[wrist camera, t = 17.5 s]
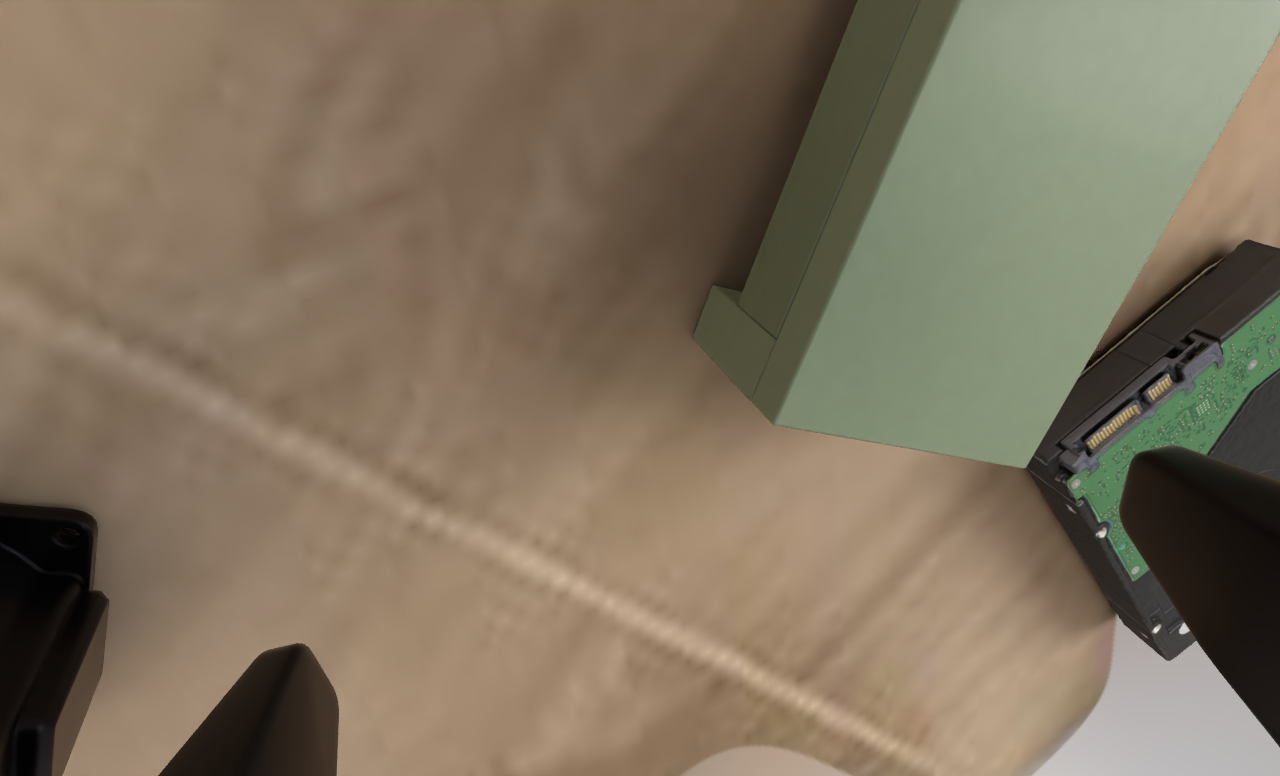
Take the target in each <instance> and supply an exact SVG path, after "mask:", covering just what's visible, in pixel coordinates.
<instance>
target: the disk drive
mask: <svg viewBox="0 0 1280 776" xmlns="http://www.w3.org/2000/svg"><path fill="white" fill-rule="evenodd" d="M1168 445H1176V446H1181V447H1185V448H1187V449H1190V450H1193V451H1196V452H1199V453H1202V454H1204V455H1207V456H1210V457H1213V458H1216V459H1218V460H1221V461H1224V462H1227V463H1230V464H1233V465H1235V466H1238V467H1241V468H1244V469H1247V470H1250V471H1252V472H1255V473H1258V474H1261V475H1264V476H1266V477H1269V478H1272V479H1275V480H1278V481H1280V248H1276V247H1272V246H1269V245H1264V244H1261V243H1258V242H1254V241H1252V240H1245V241H1243V242H1242V243H1241V244H1239V245H1238V246H1237V248H1236V249H1235V250H1234V251H1233V252H1232V253H1230V254H1228V255H1226V256H1225V257H1223V258H1222V259H1220V260H1219V261H1218V262H1217V263H1215V264H1213V265H1211V266H1210V267H1208V268H1207V269H1205V270H1204V271H1203V272H1202V273H1201V274H1199V275H1198V276H1197V277H1196V278H1195V279H1193V280H1192V281H1191V282H1190V283H1189V284H1187V285H1186V286H1184V288H1183V289H1182V290H1180V291H1179V292H1178V293H1177V294H1176V295H1175V296H1173V297H1172V298H1171V299H1170V300H1169V301H1167V302H1166V303H1165V304H1164V305H1162V306H1161V307H1160V308H1159V309H1158V310H1157V311H1156V312H1155V313H1153V314H1152V315H1151V316H1149V317H1148V318H1147V319H1146V320H1145V321H1144V322H1143V323H1142V324H1140V325H1139V326H1138V327H1137V328H1135V329H1134V330H1133V331H1131V332H1130V333H1129V334H1128V335H1127V336H1126V337H1125V338H1124V339H1123V340H1121V341H1119V342H1118V343H1117V344H1116V345H1115V346H1114V347H1112V348H1111V349H1110V350H1109V351H1108V352H1107V353H1106V354H1104V355H1103V356H1102V357H1101V358H1100V359H1098V360H1097V361H1096V362H1095V363H1093V364H1092V365H1091V366H1090V367H1089V368H1087V369H1086V370H1085V371H1083V372H1082V373H1081V374H1080V376H1079V378H1078V379H1077V381H1076V383H1075V384H1074V386H1073V388H1072V390H1071V391H1070V393H1069V395H1068V396H1067V398H1066V400H1065V402H1064V403H1063V405H1062V407H1061V408H1060V410H1059V412H1058V414H1057V415H1056V417H1055V419H1054V420H1053V422H1052V424H1051V425H1050V427H1049V429H1048V431H1047V432H1046V434H1045V436H1044V437H1043V439H1042V441H1041V443H1040V444H1039V446H1038V448H1037V449H1036V451H1035V453H1034V455H1033V456H1032V458H1031V460H1030V461H1029V463H1028V465H1027V468H1028V470H1029V472H1030V473H1031V475H1032V477H1033V478H1034V480H1035V482H1036V483H1037V485H1038V486H1039V488H1040V489H1041V491H1042V493H1043V494H1044V496H1045V498H1046V499H1047V501H1048V502H1049V504H1050V505H1051V507H1052V508H1053V511H1054V512H1055V514H1056V516H1057V517H1058V519H1059V520H1060V522H1061V523H1062V525H1063V527H1064V529H1065V530H1066V531H1067V533H1068V535H1069V536H1070V538H1071V540H1072V541H1073V543H1074V545H1075V546H1076V548H1077V549H1078V551H1079V553H1080V554H1081V556H1082V558H1083V559H1084V560H1085V562H1086V563H1087V565H1088V567H1089V569H1090V570H1091V572H1092V574H1093V575H1094V576H1095V578H1096V580H1097V581H1098V583H1099V585H1100V586H1101V588H1102V590H1103V591H1104V593H1105V595H1106V596H1107V598H1108V600H1109V602H1110V603H1111V606H1112V607H1113V608H1114V609H1115V611H1116V613H1117V614H1118V616H1119V618H1120V619H1121V620H1122V621H1123V623H1124V625H1126V626H1127V627H1128V628H1129V629H1130V630H1131V631H1133V632H1134V633H1135V634H1136V635H1137V636H1138V637H1139V638H1140V639H1142V640H1143V641H1144V642H1145V643H1146V644H1148V645H1149V646H1150V647H1151V648H1153V649H1154V650H1155V651H1156V652H1157V653H1158V654H1159V655H1161V656H1162V657H1164V659H1166V660H1168V661H1170V660H1172V659H1173V658H1175V657H1177V656H1178V655H1179V654H1180V653H1181V652H1183V651H1184V650H1185V649H1186V648H1188V647H1189V646H1190V645H1192V644H1193V643H1194V642H1195V641H1196V639H1195V638H1194V636H1193V635H1192V633H1191V632H1190V630H1189V629H1188V627H1187V626H1186V624H1185V623H1184V621H1183V620H1182V618H1181V616H1180V615H1179V613H1178V612H1177V610H1176V609H1175V607H1174V606H1173V604H1172V603H1171V601H1170V600H1169V598H1168V597H1167V595H1166V593H1165V592H1164V590H1163V589H1162V587H1161V586H1160V584H1159V583H1158V581H1157V580H1156V578H1155V577H1154V575H1153V573H1152V572H1151V570H1150V569H1149V567H1148V566H1147V564H1146V563H1145V561H1144V560H1143V558H1142V557H1141V555H1140V553H1139V552H1138V550H1137V549H1136V547H1135V546H1134V544H1133V543H1132V541H1131V540H1130V538H1129V537H1128V535H1127V533H1126V532H1125V530H1124V528H1123V526H1122V523H1121V520H1120V516H1119V504H1120V500H1121V496H1122V493H1123V489H1124V485H1125V481H1126V477H1127V473H1128V469H1129V465H1130V462H1131V460H1132V458H1133V457H1134V456H1135V455H1136V454H1137V453H1139V452H1141V451H1146V450H1150V449H1155V448H1159V447H1163V446H1168Z"/></svg>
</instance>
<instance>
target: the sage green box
mask: <svg viewBox="0 0 1280 776" xmlns="http://www.w3.org/2000/svg"><path fill="white" fill-rule="evenodd" d="M1279 34H1280V0H857V3H856V5H855V8H854V11H853V13H852V16H851V18H850V21H849V23H848V26H847V28H846V31H845V33H844V36H843V38H842V41H841V43H840V46H839V49H838V51H837V54H836V56H835V59H834V61H833V64H832V66H831V69H830V71H829V74H828V76H827V79H826V81H825V84H824V87H823V89H822V92H821V94H820V97H819V99H818V102H817V104H816V107H815V109H814V112H813V114H812V117H811V119H810V122H809V125H808V127H807V130H806V132H805V135H804V137H803V140H802V142H801V145H800V147H799V150H798V152H797V155H796V158H795V160H794V163H793V165H792V168H791V170H790V173H789V175H788V178H787V180H786V183H785V185H784V188H783V190H782V193H781V196H780V198H779V201H778V203H777V206H776V208H775V211H774V213H773V216H772V218H771V221H770V223H769V226H768V228H767V231H766V234H765V236H764V239H763V241H762V244H761V246H760V249H759V251H758V254H757V256H756V259H755V261H754V264H753V267H752V269H751V272H750V274H749V277H748V279H747V282H746V284H745V287H744V289H743V292H740V291H736V290H732V289H728V288H724V287H720V286H716V285H713V286H712V288H711V290H710V293H709V296H708V298H707V301H706V303H705V306H704V309H703V311H702V314H701V317H700V319H699V322H698V325H697V327H696V330H695V332H694V335H693V339H694V340H695V341H696V342H697V343H698V344H699V346H700V347H701V348H702V349H703V350H704V351H705V352H706V353H707V354H708V355H709V356H710V358H711V359H712V360H713V361H714V362H715V363H716V364H717V365H718V366H719V367H720V368H721V370H722V371H723V372H724V373H725V374H726V375H727V376H728V377H729V378H730V379H731V381H732V382H733V383H734V384H735V385H736V386H737V387H738V388H739V389H740V390H741V391H742V393H743V394H744V395H745V396H746V397H747V398H748V399H749V400H750V401H752V402H753V404H754V405H755V406H756V407H757V408H758V409H759V410H760V411H761V412H762V413H763V414H764V416H765V417H766V418H767V419H768V420H769V421H770V422H771V423H772V424H773V425H776V426H782V427H788V428H794V429H799V430H805V431H811V432H816V433H822V434H828V435H834V436H839V437H845V438H851V439H856V440H862V441H868V442H874V443H879V444H885V445H891V446H896V447H902V448H908V449H914V450H919V451H925V452H931V453H936V454H942V455H948V456H954V457H959V458H965V459H971V460H976V461H982V462H988V463H994V464H999V465H1005V466H1011V467H1016V468H1022V469H1024V468H1026V467H1027V465H1028V463H1029V461H1030V460H1031V458H1032V456H1033V455H1034V453H1035V451H1036V449H1037V448H1038V446H1039V444H1040V443H1041V441H1042V439H1043V437H1044V436H1045V434H1046V432H1047V431H1048V429H1049V427H1050V425H1051V424H1052V422H1053V420H1054V419H1055V417H1056V415H1057V414H1058V412H1059V410H1060V408H1061V407H1062V405H1063V403H1064V402H1065V400H1066V398H1067V396H1068V395H1069V393H1070V391H1071V390H1072V388H1073V386H1074V384H1075V383H1076V381H1077V379H1078V378H1079V376H1080V374H1081V372H1082V371H1083V369H1084V367H1085V366H1086V364H1087V362H1088V361H1089V359H1090V357H1091V355H1092V354H1093V352H1094V350H1095V349H1096V347H1097V345H1098V343H1099V342H1100V340H1101V338H1102V337H1103V335H1104V333H1105V331H1106V330H1107V328H1108V326H1109V325H1110V323H1111V321H1112V319H1113V318H1114V316H1115V314H1116V313H1117V311H1118V309H1119V307H1120V306H1121V304H1122V302H1123V301H1124V299H1125V297H1126V296H1127V294H1128V292H1129V290H1130V289H1131V287H1132V285H1133V284H1134V282H1135V280H1136V278H1137V277H1138V275H1139V273H1140V272H1141V270H1142V268H1143V266H1144V265H1145V263H1146V261H1147V260H1148V258H1149V256H1150V254H1151V253H1152V251H1153V249H1154V248H1155V246H1156V244H1157V243H1158V241H1159V239H1160V237H1161V236H1162V234H1163V232H1164V231H1165V229H1166V227H1167V225H1168V224H1169V222H1170V220H1171V219H1172V217H1173V215H1174V213H1175V212H1176V210H1177V208H1178V207H1179V205H1180V203H1181V201H1182V200H1183V198H1184V196H1185V195H1186V193H1187V191H1188V189H1189V188H1190V186H1191V184H1192V183H1193V181H1194V179H1195V178H1196V176H1197V174H1198V172H1199V171H1200V169H1201V167H1202V166H1203V164H1204V162H1205V160H1206V159H1207V157H1208V155H1209V154H1210V152H1211V150H1212V148H1213V147H1214V145H1215V143H1216V142H1217V140H1218V138H1219V136H1220V135H1221V133H1222V131H1223V130H1224V128H1225V126H1226V125H1227V123H1228V121H1229V119H1230V118H1231V116H1232V114H1233V113H1234V111H1235V109H1236V107H1237V106H1238V104H1239V102H1240V101H1241V99H1242V97H1243V95H1244V94H1245V92H1246V90H1247V89H1248V87H1249V85H1250V83H1251V82H1252V80H1253V78H1254V77H1255V75H1256V73H1257V72H1258V70H1259V68H1260V66H1261V65H1262V63H1263V61H1264V60H1265V58H1266V56H1267V54H1268V53H1269V51H1270V49H1271V48H1272V46H1273V44H1274V42H1275V41H1276V39H1277V37H1278V36H1279Z"/></svg>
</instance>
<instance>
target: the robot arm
mask: <svg viewBox="0 0 1280 776" xmlns="http://www.w3.org/2000/svg"><path fill="white" fill-rule="evenodd" d="M1119 516H1120V520H1121V523H1122V526H1123V528H1124V530H1125V532H1126V533H1127V535H1128V537H1129V538H1130V540H1131V541H1132V543H1133V544H1134V546H1135V547H1136V549H1137V550H1138V552H1139V553H1140V555H1141V557H1142V558H1143V560H1144V561H1145V563H1146V564H1147V566H1148V567H1149V569H1150V570H1151V572H1152V573H1153V575H1154V577H1155V578H1156V580H1157V581H1158V583H1159V584H1160V586H1161V587H1162V589H1163V590H1164V592H1165V593H1166V595H1167V597H1168V598H1169V600H1170V601H1171V603H1172V604H1173V606H1174V607H1175V609H1176V610H1177V612H1178V613H1179V615H1180V616H1181V618H1182V620H1183V621H1184V623H1185V624H1186V626H1187V627H1188V629H1189V630H1190V632H1191V633H1192V635H1193V636H1194V638H1195V639H1196V640H1197V642H1198V643H1199V645H1200V646H1201V648H1202V649H1203V650H1204V652H1205V653H1206V655H1207V656H1208V657H1209V658H1210V660H1211V661H1212V662H1213V664H1214V665H1215V666H1216V668H1217V669H1218V670H1219V672H1220V673H1221V674H1222V675H1223V676H1224V678H1225V679H1226V680H1227V682H1228V683H1229V684H1230V685H1231V687H1232V688H1233V689H1234V690H1235V692H1236V693H1237V694H1238V695H1239V697H1240V698H1241V699H1242V700H1243V702H1244V703H1245V704H1246V705H1247V707H1248V708H1249V709H1250V710H1251V712H1252V713H1253V714H1254V715H1255V717H1256V718H1257V719H1258V720H1259V722H1260V723H1261V724H1262V725H1263V726H1264V728H1265V729H1266V730H1267V732H1268V733H1269V734H1270V735H1271V737H1272V738H1273V739H1274V741H1275V742H1276V743H1277V744H1278V746H1279V747H1280V481H1278V480H1275V479H1272V478H1269V477H1266V476H1264V475H1261V474H1258V473H1255V472H1252V471H1250V470H1247V469H1244V468H1241V467H1238V466H1235V465H1233V464H1230V463H1227V462H1224V461H1221V460H1218V459H1216V458H1213V457H1210V456H1207V455H1204V454H1202V453H1199V452H1196V451H1193V450H1190V449H1187V448H1185V447H1181V446H1176V445H1168V446H1163V447H1159V448H1155V449H1150V450H1146V451H1141V452H1139V453H1137V454H1136V455H1135V456H1134V457H1133V458H1132V460H1131V462H1130V465H1129V469H1128V473H1127V477H1126V481H1125V485H1124V489H1123V493H1122V496H1121V500H1120V504H1119ZM65 528H69V529H73V530H75V531H77V532H78V533H79V534H80V535H77V536H70V535H66V534H65V533H64V532H62V531H61V529H65ZM97 537H98V526H97V522H96V521H95V519H94V518H93V517H92V516H91V515H89V514H87V513H85V512H83V511H79V510H74V509H62V508H50V507H38V506H26V505H14V504H3V503H0V776H62V775H63V772H64V770H65V767H66V765H67V762H68V759H69V757H70V754H71V752H72V749H73V746H74V744H75V741H76V739H77V736H78V734H79V731H80V728H81V726H82V723H83V721H84V718H85V716H86V713H87V710H88V708H89V705H90V703H91V700H92V697H93V695H94V692H95V690H96V687H97V685H98V682H99V679H100V677H101V674H102V668H103V658H104V648H105V638H106V627H107V617H108V607H109V599H108V598H107V597H106V596H105V595H104V594H103V593H102V591H93V583H94V571H95V560H96V548H97ZM338 723H339V706H338V699H337V695H336V692H335V690H334V688H333V686H332V684H331V683H330V681H329V679H328V678H327V676H326V674H325V673H324V671H323V669H322V668H321V666H320V664H319V663H318V661H317V659H316V658H315V656H314V654H313V653H312V651H311V650H310V648H309V647H308V646H306V645H305V644H302V643H300V644H299V643H296V644H292V645H288V646H283V647H279V648H274V649H270V650H267V651H265V652H263V653H262V654H260V655H259V656H258V657H257V658H256V659H255V660H254V661H253V663H252V664H251V665H250V666H249V667H248V669H247V670H246V671H245V672H244V673H243V675H242V676H241V677H240V678H239V679H238V681H237V682H236V683H235V684H234V685H233V687H232V688H231V689H230V690H229V691H228V693H227V694H226V695H225V696H224V697H223V699H222V700H221V701H220V702H219V703H218V705H217V706H216V707H215V708H214V709H213V711H212V712H211V713H210V714H209V715H208V717H207V718H206V719H205V720H204V721H203V723H202V724H201V725H200V726H199V727H198V729H197V730H196V731H195V732H194V733H193V735H192V736H191V737H190V738H189V739H188V741H187V742H186V743H185V744H184V745H183V747H182V748H181V749H180V750H179V751H178V753H177V754H176V755H175V756H174V757H173V759H172V760H171V761H170V762H169V763H168V765H167V766H166V767H165V768H164V770H163V771H162V772H161V773H160V774H159V776H336V775H337V749H338Z"/></svg>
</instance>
